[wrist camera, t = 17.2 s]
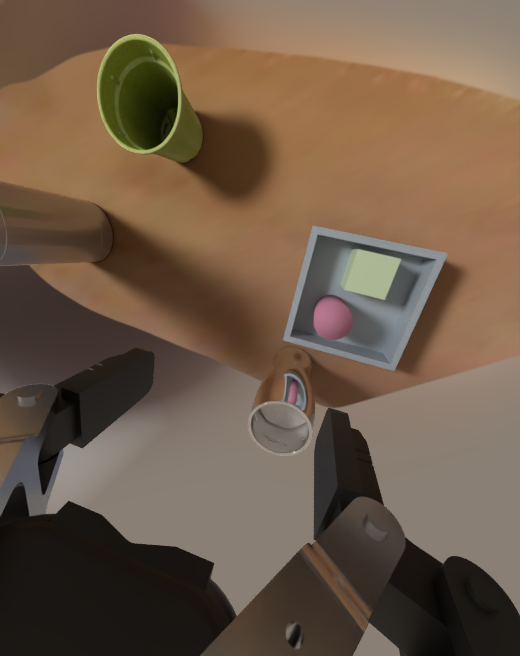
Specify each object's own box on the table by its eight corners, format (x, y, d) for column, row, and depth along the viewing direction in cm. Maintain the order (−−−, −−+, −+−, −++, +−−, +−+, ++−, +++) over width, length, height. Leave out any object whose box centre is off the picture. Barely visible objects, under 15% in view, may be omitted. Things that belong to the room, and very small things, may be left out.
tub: (286, 330, 37) (282, 340, 33) (313, 228, 32) (312, 225, 28) (385, 357, 35) (394, 371, 31) (430, 253, 30) (448, 253, 26)
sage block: (352, 249, 31) (358, 249, 26) (389, 258, 30) (401, 258, 26) (340, 284, 32) (344, 289, 28) (375, 293, 32) (384, 300, 27)
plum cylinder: (310, 321, 35) (309, 334, 29) (319, 291, 33) (319, 299, 27) (341, 329, 34) (345, 344, 28) (351, 299, 32) (358, 308, 27)
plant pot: (224, 104, 30) (191, 49, 22) (205, 187, 33) (169, 166, 25) (158, 82, 31) (102, 21, 23) (145, 164, 34) (92, 136, 26)
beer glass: (280, 388, 40) (261, 462, 26) (264, 351, 38) (234, 408, 24) (321, 377, 38) (325, 452, 24) (305, 338, 36) (299, 391, 22)
